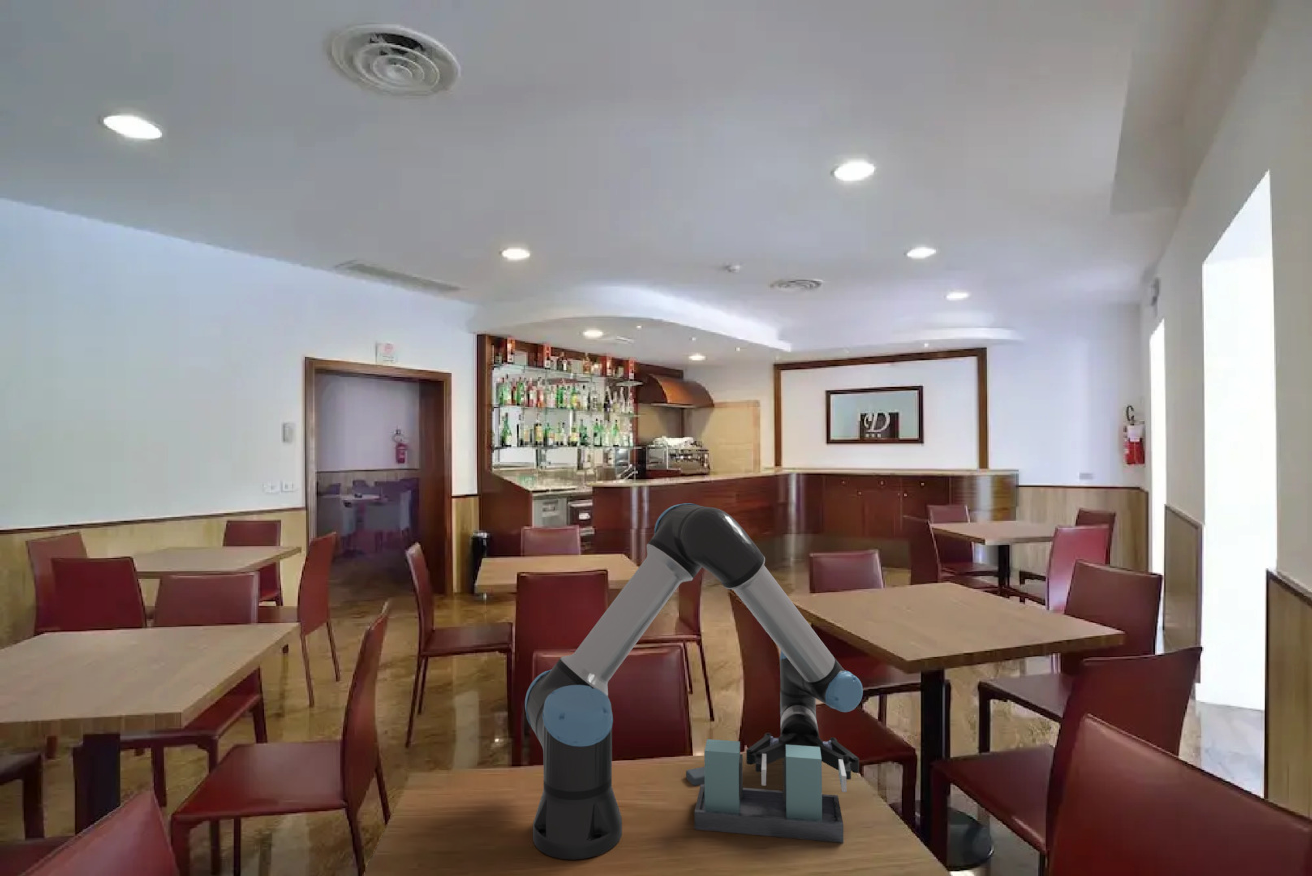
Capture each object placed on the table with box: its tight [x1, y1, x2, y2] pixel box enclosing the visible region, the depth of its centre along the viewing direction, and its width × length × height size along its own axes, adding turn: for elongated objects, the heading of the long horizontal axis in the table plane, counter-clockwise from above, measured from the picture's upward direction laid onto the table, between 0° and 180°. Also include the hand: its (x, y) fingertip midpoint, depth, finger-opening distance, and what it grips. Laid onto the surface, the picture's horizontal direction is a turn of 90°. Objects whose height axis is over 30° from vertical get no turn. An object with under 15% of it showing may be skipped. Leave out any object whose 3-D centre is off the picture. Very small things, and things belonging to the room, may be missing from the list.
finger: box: [782, 745, 823, 820], centre depth 120 cm, size 6×5×11 cm
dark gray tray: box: [694, 784, 844, 844], centre depth 121 cm, size 25×10×3 cm, turn 80°
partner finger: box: [703, 738, 744, 813], centre depth 123 cm, size 6×5×11 cm
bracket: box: [685, 766, 705, 787], centre depth 138 cm, size 4×10×2 cm, turn 111°
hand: (803, 780), depth 118 cm, fingers open, 13 cm apart
